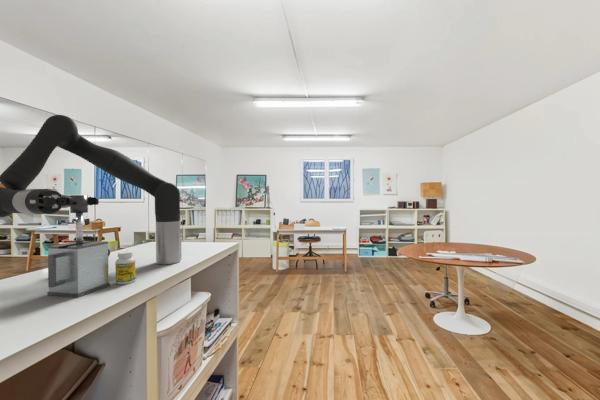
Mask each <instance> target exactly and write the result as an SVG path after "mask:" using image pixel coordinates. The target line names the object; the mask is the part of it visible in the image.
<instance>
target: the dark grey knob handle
mask: <svg viewBox="0 0 600 400" xmlns="http://www.w3.org/2000/svg"><path fill="white" fill-rule="evenodd" d="M69 196H70V197H71V198H72V205H70V207H69V213H70V214H75V242H76V245H80V244H83V241H84V219H83V218H84V216H83V215H84V214H85V213H89V205H88V197H89V195H79V194H77V195H76V194H75V195H74V194H73V195H69Z"/></svg>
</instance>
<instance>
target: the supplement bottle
mask: <svg viewBox="0 0 600 400" xmlns="http://www.w3.org/2000/svg"><path fill="white" fill-rule="evenodd" d="M133 253H134V252H133V251H132V250H129V251H128V250H126V251H120V252H118V253H117V258H118V259H116V261H115V283H116V284H117V285H129V284H132V283H134V282H136V278H137V277H136V276H137V275H136V259H135V257H133V256H134V255H133Z"/></svg>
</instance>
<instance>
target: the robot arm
mask: <svg viewBox="0 0 600 400" xmlns="http://www.w3.org/2000/svg"><path fill="white" fill-rule="evenodd" d="M78 131H79V130H78V126H77V124H76V122H75V121H74V120H73V119H72V118H71V117H69V116H67V115H64V114H54V115H52V116H49V117H48V118H46V119H45V121H44V122H43V124H42V126H41V127H40V129H39V130H38V132H37V133H36V135H35V137H33V139H32V140H31V142H30V143H29V144H28V146H27V147H26V148H25V149H24V150H23V152H22V153H20V154H19V156H18V157H17V158H16V159H15V160H14V161H13V162H12V163H10V164H9V166H7V168H6V169H5V170H4V171H3V172H2V173H1V174H0V183H1V185H2V187H1V186H0V218H7V217H8V216H11V215H12V214H27V215H53V214H56V213H58V212H60V210H61V209H68V208H70V205H72V198H71V197H70V195H68V194H61V192H59V191H58V190H56V189H53V188H31V189H30V188H29V189H27V188H28V187H29V186H30V184H31V183H32V182H33V181H34V180H35V179H36V178H37V177H38V175H40V173H41V171H42V170H43V168H44V167H45V165H46V164H47V161H48V160H49V157H50V156H51V155H52V153H53V152H54V150H55V149H56V148H57V147H58V148H60V149H62V150H64V151H67V152H70V153H71V154H74V155H76V156H78V157H80V158H82V159H83V160H85V161H87V162H89V163H90V164H92V165H93V166H94V167H97V168H99V169H101V170H102V171H103V172H105V173H107V174H108V175H111V176H113V177H114V178H116V179H117V180H120V181H122V182H125V183H127V184H129V185H131V186H134V187H136V188H139V189H141V190H143V191H145V192H146V193H148V194H149V195H151V196H152V197H154V214H155V215H154V217H155V264H156V265H173V264H176V263H180V262H181V260H182V238H181V207H180V206H181V201H180V200H181V198H180V197H181V196H180V195H181V192H180V188H178V186H177V185H176V184H174V183H171V182H168V181H165V180H163V179H162V178H159V177H157V176H155V175H154V174H153V173H150V171H148V170H147V169H146V168H145V167H143V166H141V164H139V163H138V162H136V161H135V160H133V159H131V158H130V157H128V156H127V155H125V154H123V153H121V152H119V151H118V150H116V149H112V148H109V147H105V146H100V145H98V144H95V143H93V142H91V141H89V139H86V138H85V137H83V136H82V135H81V134H80V133H79V132H78ZM99 200H100V199H99V197H92V196H88V206H94V205H95V206H97V205H99Z"/></svg>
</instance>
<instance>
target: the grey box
mask: <svg viewBox="0 0 600 400" xmlns="http://www.w3.org/2000/svg"><path fill="white" fill-rule="evenodd" d="M108 249H109V241H100V240H98V241H92V243H91V240H83V244H80V245H76V241H73V242H72V241H71V242H67V243H60V244H55V245H54V244H53V245H48V246H47V250H48V251H47V253H48V254H47V269H48V270H47V273H48V274H47V275H48V276H47V277H48V284H47V286H48V291H47V292H46V296H48V297H63V298H66V297H67V298H80V297H83V296H85V295H88V294H91V293H94V292H96V291H100V290H102V289H104V288H107V287H110V284H111V283H110V282H109V257H108Z"/></svg>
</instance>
